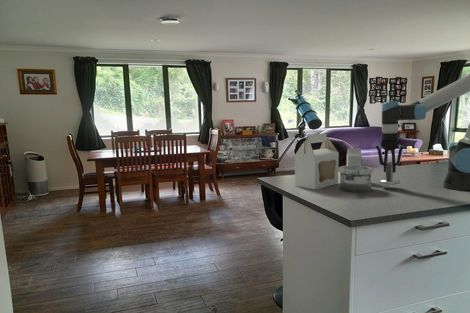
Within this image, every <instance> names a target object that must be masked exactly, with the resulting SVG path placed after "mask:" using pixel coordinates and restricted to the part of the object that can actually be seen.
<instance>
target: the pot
mask: <svg viewBox="0 0 470 313" xmlns="http://www.w3.org/2000/svg"><path fill="white" fill-rule="evenodd" d="M338 173H339V174H340V176H339V180H340V181H339V188H340V190H341V191H343V190H344V192H349V193H367V192H368V193H369V192H371V190H372V174H373V173H374V167H371V166H367V165H361V166H357V165H354V166H353V165H350V166H347V165H342V166H338Z"/></svg>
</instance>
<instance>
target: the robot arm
mask: <svg viewBox="0 0 470 313" xmlns="http://www.w3.org/2000/svg"><path fill="white" fill-rule="evenodd" d="M468 93H470V73H469V74H468V75H465V76H463V77H461V78H459V79H457V80H456V81H453V82H452V83H449V84H448V85H446V86H444V87H442V88H440V89H438V90H436V91H434V92H432V93H431V94H429V95H426V96H425V97H422V98H420V99H418V100H416V101H415V102H412V103H411V104H399V101H394V100H393V101H384V102H382V105H381V132H382V133H381V142H380V144H379V145H376V146H375V149H376V151H377V156H378V160H379V165H380V166H383V172H384V173H385V178H386V179H387V163H388V157H389V152H390V153H391V162H392V166H391V179H394V173H396V172H397V171H396V170H397V169H396V168H397V166H399V165H400V164H401V158H402V153H403V150H404V149H405V146H404V145H401V144H400V142H399V133H398V132H399V121H421V120H425V119H426V116H427V113H429V112H431V111H433V110H435V109H436V108H439V107H441V106H444V105H445V104H447V103H449V102H451V101H454V100H455V99H457V98H460V97H461V96H464V95H466V94H468ZM382 148H383V150H384V156H383V153H382ZM397 148H398V153H397V159H396V150H397ZM448 150H449V151H448V164H447V168H448V169H447V172H446V174H445V177H444V179H443V182H442V186H443V187H444V188H445V189H450V190H455V191H462V192H463V191H466V192H467V191H468V192H469V191H470V122H469V123H468V126H467V129H466V131H465V134H464V136H463V138H461V139H459V140H458V142H451V143H449V147H448Z"/></svg>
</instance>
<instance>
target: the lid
mask: <svg viewBox="0 0 470 313" xmlns="http://www.w3.org/2000/svg"><path fill="white" fill-rule="evenodd" d="M391 166H392V161H387V179H386V177H385V178H380V179H379V180H378V183H379V184H382V185H388V186H389V185H390V186H391V185H394V186H395V185H401V179H398V178H393V179H391Z"/></svg>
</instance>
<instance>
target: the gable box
mask: <svg viewBox="0 0 470 313" xmlns="http://www.w3.org/2000/svg"><path fill="white" fill-rule="evenodd" d="M316 143H321V145H320V148H319V149H318V148H317V149H313V147H312V144H316ZM339 153H340V152H339V151H338V149H337V148H336V147H335V144H333V142H332V141H331V139H330V138H328V136H327V133H325V132H324V133H316V134H308V135H307V136H305V141H303V143H302V144H301V145H300V147H299V148H298V150H297V151H296V153H295V154H294V187H299V188H303V189H308V190H315V191H316V190H318V189H322V188H326V187H329V186H333V185H338V184H339V171H338V168H339V167H340V166H339V163H340V162H339V160H340V159H339V157H340V156H339Z"/></svg>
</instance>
